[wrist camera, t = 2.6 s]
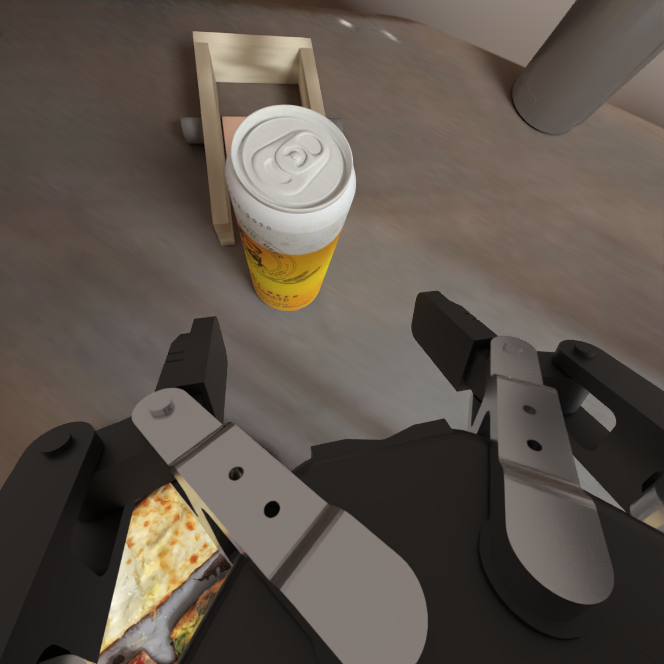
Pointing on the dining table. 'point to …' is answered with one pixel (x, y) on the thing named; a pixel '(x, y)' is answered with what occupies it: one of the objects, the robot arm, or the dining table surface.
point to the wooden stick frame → (244, 67)
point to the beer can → (289, 199)
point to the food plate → (160, 583)
